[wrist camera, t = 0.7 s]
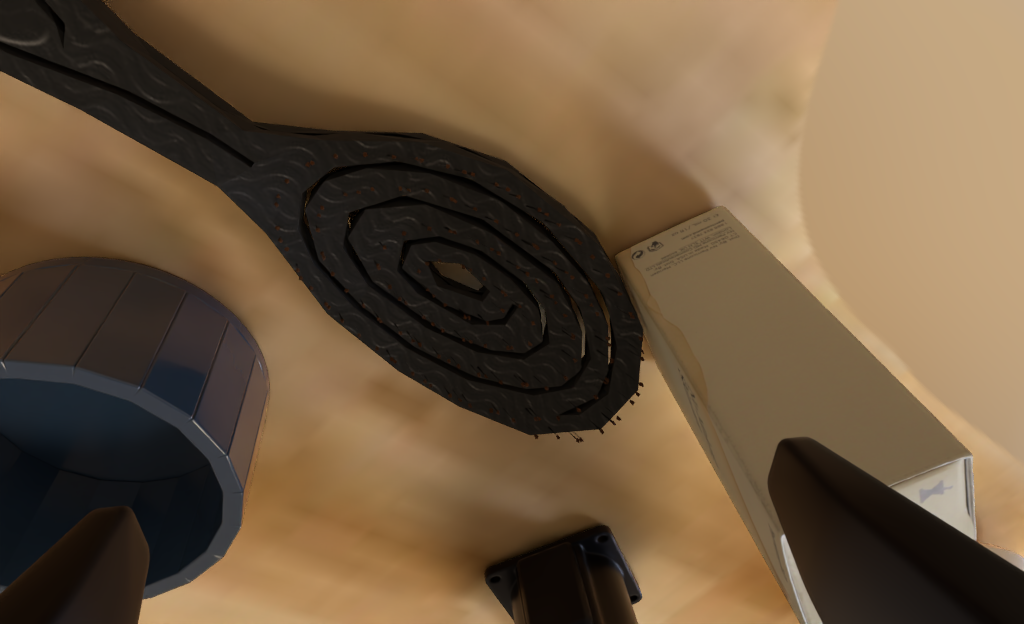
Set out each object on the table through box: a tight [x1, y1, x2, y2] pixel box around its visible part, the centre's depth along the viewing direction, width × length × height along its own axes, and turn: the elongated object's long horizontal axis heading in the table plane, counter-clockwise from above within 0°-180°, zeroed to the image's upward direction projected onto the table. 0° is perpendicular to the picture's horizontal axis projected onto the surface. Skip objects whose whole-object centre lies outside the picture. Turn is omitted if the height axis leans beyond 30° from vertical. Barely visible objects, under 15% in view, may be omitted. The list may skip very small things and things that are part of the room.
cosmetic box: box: [615, 206, 976, 624], centre depth 20 cm, size 6×4×12 cm
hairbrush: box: [0, 0, 644, 443], centre depth 19 cm, size 8×4×25 cm
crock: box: [0, 257, 270, 599], centre depth 21 cm, size 10×10×6 cm
